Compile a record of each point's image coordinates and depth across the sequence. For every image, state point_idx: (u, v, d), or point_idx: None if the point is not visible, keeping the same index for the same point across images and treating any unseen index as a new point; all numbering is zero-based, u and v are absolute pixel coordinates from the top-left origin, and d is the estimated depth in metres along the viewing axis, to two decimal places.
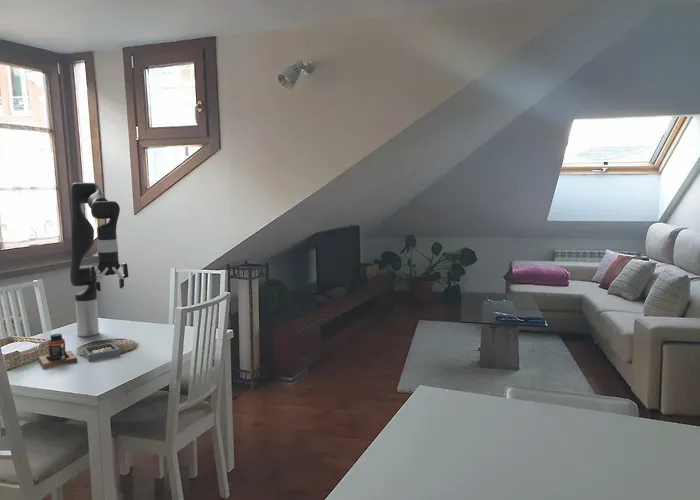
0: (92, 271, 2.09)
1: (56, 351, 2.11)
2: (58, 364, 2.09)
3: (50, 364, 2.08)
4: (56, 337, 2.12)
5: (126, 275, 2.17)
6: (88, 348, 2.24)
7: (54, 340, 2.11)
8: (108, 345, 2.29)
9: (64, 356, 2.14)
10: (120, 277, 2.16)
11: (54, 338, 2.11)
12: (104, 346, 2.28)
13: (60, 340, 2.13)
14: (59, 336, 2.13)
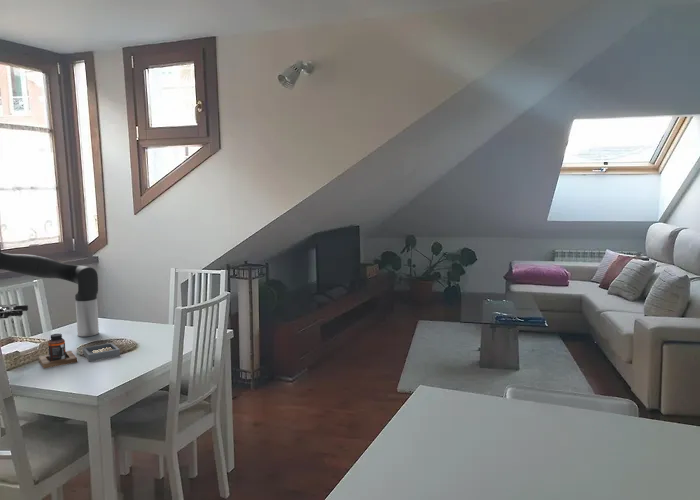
0: None
1: (56, 351, 2.11)
2: (58, 364, 2.09)
3: (50, 364, 2.08)
4: (56, 337, 2.12)
5: None
6: (88, 348, 2.24)
7: (54, 340, 2.11)
8: (108, 345, 2.29)
9: (64, 356, 2.14)
10: None
11: (54, 338, 2.11)
12: (104, 346, 2.28)
13: (60, 340, 2.13)
14: (59, 336, 2.13)
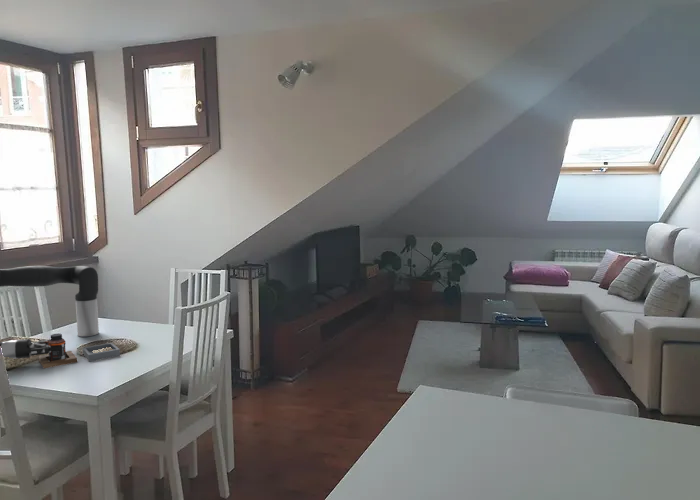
0: None
1: (56, 351, 2.11)
2: (58, 364, 2.09)
3: (50, 364, 2.08)
4: (56, 337, 2.12)
5: None
6: (88, 348, 2.24)
7: (54, 340, 2.11)
8: (108, 345, 2.29)
9: (64, 356, 2.14)
10: None
11: (54, 338, 2.11)
12: (104, 346, 2.28)
13: (60, 340, 2.13)
14: (59, 336, 2.13)
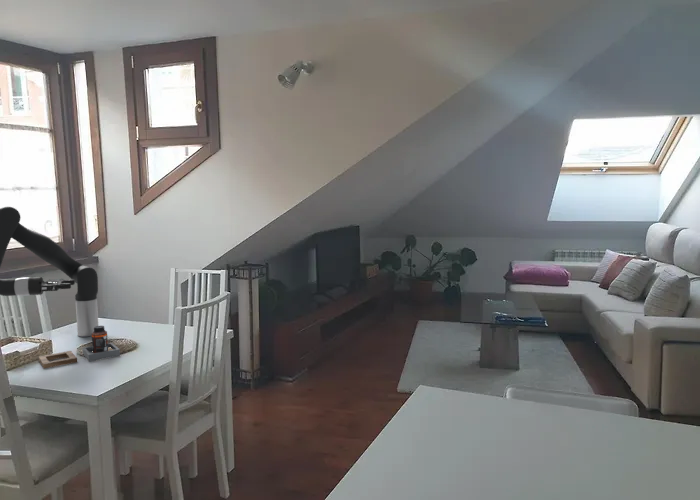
0: None
1: (99, 342, 2.19)
2: (58, 364, 2.09)
3: (50, 364, 2.08)
4: (99, 329, 2.20)
5: None
6: (88, 348, 2.24)
7: (97, 331, 2.20)
8: (108, 345, 2.29)
9: (106, 347, 2.22)
10: None
11: (97, 330, 2.20)
12: None
13: (103, 332, 2.21)
14: (102, 328, 2.21)
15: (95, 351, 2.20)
